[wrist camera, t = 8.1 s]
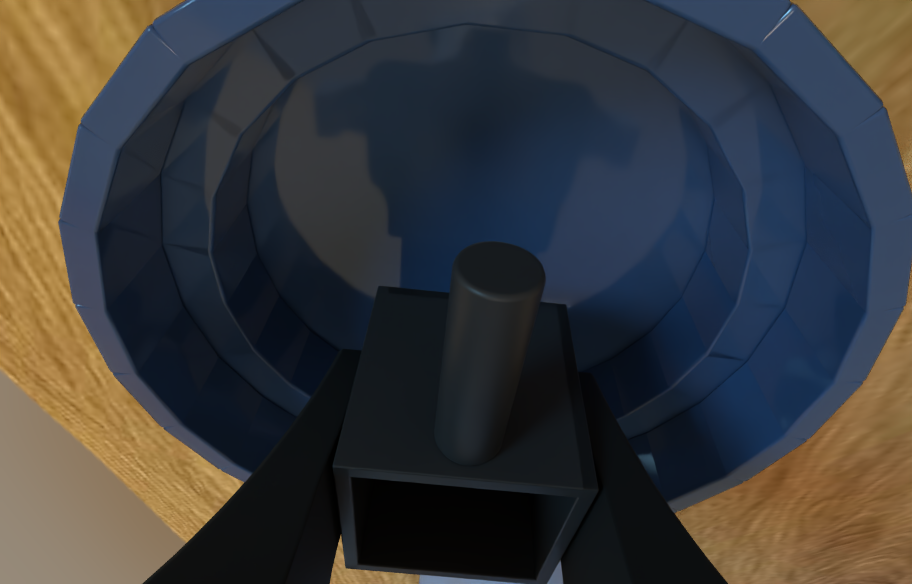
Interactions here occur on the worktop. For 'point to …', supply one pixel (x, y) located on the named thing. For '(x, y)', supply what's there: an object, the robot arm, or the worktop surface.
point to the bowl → (494, 209)
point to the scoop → (466, 428)
